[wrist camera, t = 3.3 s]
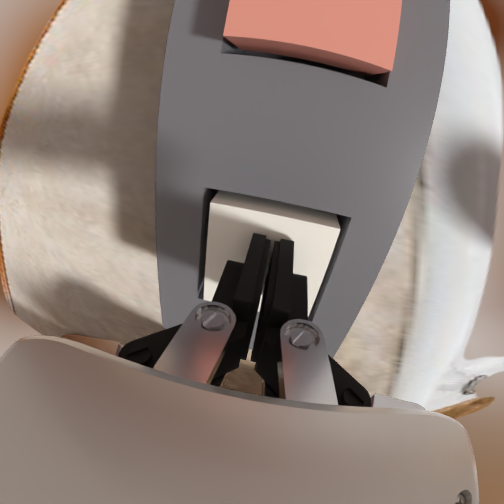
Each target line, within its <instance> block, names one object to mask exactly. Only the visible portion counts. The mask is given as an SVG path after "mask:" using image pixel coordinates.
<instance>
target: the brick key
mask: <svg viewBox="0 0 504 504" xmlns="http://www.w3.org/2000/svg"><path fill="white" fill-rule="evenodd" d="M401 7H402V0H230V2H229V7H228V12H227V17H226V22H225V28H224V33H223V36H224V37H225V38H227V39H228V40H229V41H231V42H232V43H233V44H234V45H236V46H237V47H238V48H239V49H241V50H246V51H255V52H263V53H270V54H277V55H283V56H289V57H295V58H300V59H305V60H310V61H314V62H319V63H323V64H327V65H331V66H335V67H339V68H342V69H346V70H349V71H353V72H356V73H359V74H363V75H366V76H370V75H375V74H380V73H385V72H390V71H392V69H393V64H394V58H395V52H396V46H397V39H398V32H399V24H400V16H401Z"/></svg>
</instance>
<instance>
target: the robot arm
mask: <svg viewBox="0 0 504 504" xmlns="http://www.w3.org/2000/svg"><path fill="white" fill-rule="evenodd" d="M270 243H271V240H269V239H266V235H262V234H257V233H253V235H252V239H251V242H250V246H249V249H248V252H247V256H246V259H245V262H244V263H241V262H236V261H231V260H227V263H226V265H225V268H224V270H223V273H222V276H221V278H220V281H219V283H218V286H217V289H216V291H215V294H214V296H213V299H212V302H204V303H201V304H199V305H197V306H195V308H194V309H193V310H192V311H191V312H190V314H189V315H188V317H187V318H186V320H185V321H184V323H182V324H180V325H177V326H174V327H171V328H168V329H166V330H163V331H160V332H157V333H154V334H151V335H148V336H146V337H143V338H140V339H137V340H134V341H131V342H129V343H127V344H126V345H120V343H119V341H113V340H106V339H99V338H93V337H87V336H81V335H76V334H67V335H64V336H62V337H55V336H43V335H35V336H27V337H24V338H21V339H20V340H18V341H16V342H15V343H14V344H13V345H11V346H10V348H8V349H7V351H6V352H5V353H4V354H3V355H2V356H1V358H0V504H479V492H478V479H477V470H476V463H475V458H474V453H473V449H472V445H471V441H470V439H469V436H468V433H467V431H466V430H465V428H464V427H463V426H462V424H460V423H459V422H457V421H456V420H455V419H453V418H451V417H448V416H446V415H443V414H441V413H437V412H432V411H428V410H425V409H424V408H423V407H422V406H421V405H419V404H416V403H412V402H408V401H403V400H399V399H395V398H392V397H388V396H384V395H380V394H376V393H375V394H374V395H369V393H368V392H367V391H366V389H365V388H364V387H363V386H362V385H361V384H359V383H358V382H357V381H356V380H355V379H354V378H353V377H352V376H351V375H350V374H349V373H348V372H347V371H345V370H344V369H343V368H342V367H341V366H340V365H339V364H338V363H337V362H336V361H335V360H334V359H333V358H331V357H330V356H329V355H328V352H327V348H326V343H325V339H324V335H323V333H322V331H321V330H320V329H319V327H318V326H316V325H315V324H313V323H312V322H309V321H308V284H307V276H304V275H299V274H294V273H293V262H294V241H291V240H286V239H281V240H280V242H278V241H275V243H274V248H273V252H272V257H271V261H270V265H269V270H268V274H267V278H266V283H265V287H264V291H263V296H262V301H261V307H260V312H259V318H258V323H257V329H256V334H255V339H254V345H253V350H252V355H251V361H252V362H256V364H255V369H254V370H256V372H257V373H258V374H259V375H260V376H261V378H262V379H263V380H262V396H261V395H256V394H251V393H245V392H240V391H236V390H231V389H226V388H222V386H223V384H224V382H225V379H226V377H227V373H228V372H230V371H232V370H234V369H236V368H238V367H239V362H240V359H243V360H246V358H247V354H248V350H249V345H250V341H251V337H252V333H253V329H254V325H255V320H256V316H257V312H258V307H259V303H260V298H261V292H262V287H263V282H264V276H265V271H266V265H267V260H268V254H269V248H270Z"/></svg>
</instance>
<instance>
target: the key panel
mask: <svg viewBox="0 0 504 504" xmlns="http://www.w3.org/2000/svg"><path fill="white" fill-rule="evenodd" d="M229 2H230V0H175V2H174V7H173V12H172V17H171V22H170V27H169V33H168V39H167V45H166V52H165V59H164V66H163V74H162V83H161V92H160V103H159V115H158V129H157V147H156V180H155V213H156V247H157V266H158V280H159V293H160V304H161V314H162V323H163V328H166V329H168V328H171V327H174V326H177V325H180V324H182V323H184V321H185V320H186V318H187V317H188V315H189V314H190V312H191V311H192V310H193V309H194V308H195V306H197V305H199V304H201V303H204V302H211V301H207V300H204V281H205V264H206V250H207V236H208V223H209V212H210V202H211V201H212V199H213V198H214V197H215V195H216V194H217V193H218V191H219V190H223V191H229V192H234V193H240V194H245V195H250V196H256V197H261V198H266V199H271V200H276V201H281V202H285V203H290V204H295V205H299V206H304V207H308V208H313V209H317V210H322V211H326V212H330V213H335V214H336V215H337V219H338V222H339V225H340V232H339V235H338V238H337V241H336V244H335V247H334V250H333V253H332V256H331V258H330V261H329V264H328V267H327V269H326V272H325V275H324V278H323V280H322V283H321V286H320V288H319V291H318V293H317V296H316V299H315V301H314V304H313V306H312V309H311V311H310V314H309V316H308V321H309V322H312V323H313V324H315V325H316V326H318V327H319V329H320V330H321V331H322V333H323V335H324V339H325V343H326V348H327V352H328V355H329V356H330V357H331V358H333V357H334V355H335V354H336V352H337V350H338V349H339V347H340V345H341V343H342V342H343V340H344V338H345V337H346V335H347V333H348V331H349V330H350V328H351V326H352V324H353V322H354V321H355V319H356V317H357V315H358V313H359V311H360V309H361V307H362V306H363V304H364V302H365V300H366V298H367V296H368V294H369V292H370V290H371V288H372V286H373V284H374V282H375V280H376V278H377V276H378V273H379V271H380V269H381V267H382V265H383V263H384V260H385V258H386V256H387V254H388V251H389V249H390V247H391V245H392V242H393V240H394V238H395V235H396V233H397V230H398V228H399V225H400V223H401V220H402V218H403V215H404V213H405V210H406V207H407V205H408V202H409V199H410V196H411V193H412V191H413V188H414V185H415V182H416V179H417V176H418V173H419V170H420V167H421V163H422V160H423V157H424V153H425V150H426V146H427V143H428V139H429V135H430V132H431V128H432V124H433V120H434V116H435V111H436V107H437V102H438V97H439V92H440V87H441V82H442V76H443V70H444V63H445V56H446V48H447V39H448V29H449V13H450V0H402V7H401V16H400V24H399V32H398V39H397V46H396V52H395V58H394V64H393V69H392V71H390V72H385V73H380V74H375V75H370V76H366V75H363V74H359V73H356V72H353V71H349V70H346V69H342V68H339V67H335V66H331V65H327V64H323V63H319V62H314V61H310V60H305V59H300V58H295V57H289V56H283V55H277V54H270V53H263V52H255V51H246V50H241V49H239V48H238V47H237V46H236V45H234V44H233V43H232V42H231V41H229V40H228V39H227V38H225V37H224V36H223V33H224V28H225V22H226V17H227V12H228V7H229ZM258 318H259V312H257V316H256V320H255V325H254V329H253V333H252V337H251V341H250V345H249V349H253V345H254V339H255V334H256V329H257V323H258Z"/></svg>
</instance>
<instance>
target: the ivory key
mask: <svg viewBox="0 0 504 504" xmlns="http://www.w3.org/2000/svg"><path fill="white" fill-rule="evenodd" d="M339 232H340V225H339V222H338V219H337V215H336V214H335V213H330V212H326V211H322V210H317V209H313V208H308V207H304V206H299V205H295V204H290V203H285V202H281V201H276V200H271V199H266V198H261V197H256V196H250V195H245V194H240V193H234V192H229V191H223V190H219V191H218V193H217V194H216V195H215V197H214V198H213V199H212V201H211V202H210V212H209V223H208V236H207V250H206V264H205V281H204V300H207V301H211V302H212V299H213V296H214V294H215V291H216V289H217V286H218V283H219V281H220V278H221V276H222V273H223V270H224V268H225V265H226V263H227V260H231V261H236V262H241V263H244V262H245V259H246V256H247V252H248V249H249V246H250V242H251V239H252V235H253V233H257V234H262V235H266V239H269V240H271V243H270V248H269V254H268V260H267V265H266V271H265V276H264V282H263V287H262V292H261V298H260V303H259V307H258V312H260V307H261V301H262V296H263V291H264V287H265V283H266V278H267V274H268V270H269V265H270V261H271V257H272V252H273V248H274V243H275V241H278V242H280V240H281V239H286V240H291V241H294V262H293V273H294V274H299V275H304V276H307V284H308V316H309V314H310V311H311V309H312V306H313V304H314V301H315V299H316V296H317V293H318V291H319V288H320V286H321V283H322V280H323V278H324V275H325V272H326V269H327V267H328V264H329V261H330V258H331V256H332V253H333V250H334V247H335V244H336V241H337V238H338V235H339Z"/></svg>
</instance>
